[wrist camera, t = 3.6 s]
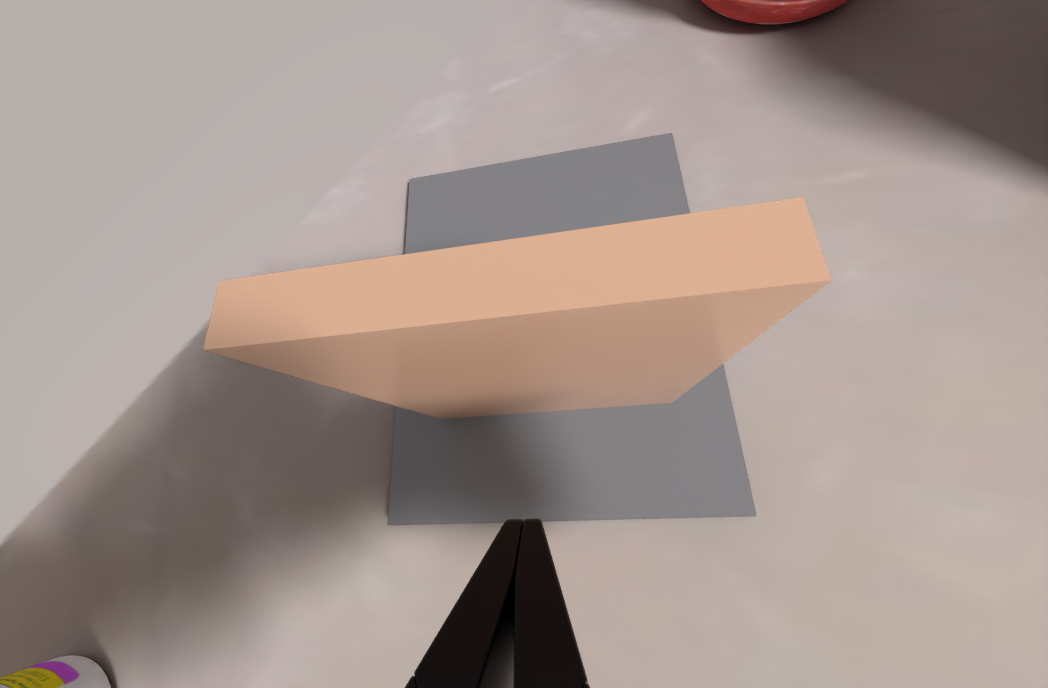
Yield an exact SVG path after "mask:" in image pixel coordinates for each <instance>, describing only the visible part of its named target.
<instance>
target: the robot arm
mask: <svg viewBox="0 0 1048 688" xmlns="http://www.w3.org/2000/svg"><path fill="white" fill-rule="evenodd" d="M414 674H415V676H412V677H411V678H410V680H409V682H408V683H407V685H406V687H405V688H590V686H589V685H588V681H587V677H586V673H585V670H584V666H583V663H582V659H581V656H580V652H579V649H578V646H577V642H576V639H575V635H574V632H573V628H572V625H571V621H570V618H569V614H568V611H567V608H566V604H565V601H564V597H563V594H562V590H561V587H560V583H559V580H558V576H557V573H556V570H555V566H554V563H553V559H552V556H551V552H550V549H549V545H548V542H547V538H546V535H545V532H544V528H543V525H542V521H541V520H540V519H539V518H532V519H525V520H524V521H523V519H508V520H506V521H505V523H504V524H503V526H502V528H501V529H500V531H499V533H498V534H497V536H496V538H495V539H494V541H493V542H492V544H491V546H490V547H489V549H488V551H487V552H486V554H485V556H484V557H483V559H482V561H481V562H480V564H479V566H478V567H477V569H476V571H475V572H474V574H473V576H472V577H471V579H470V581H469V582H468V584H467V586H466V587H465V589H464V591H463V592H462V594H461V596H460V597H459V599H458V601H457V602H456V604H455V606H454V607H453V609H452V611H451V612H450V614H449V616H448V617H447V619H446V621H445V622H444V624H443V626H442V627H441V629H440V631H439V632H438V634H437V636H436V637H435V639H434V641H433V642H432V644H431V645H430V647H429V649H428V650H427V652H426V654H425V655H424V657H423V659H422V660H421V662H420V664H419V665H418V667H417V669H416V670H415V673H414Z"/></svg>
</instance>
